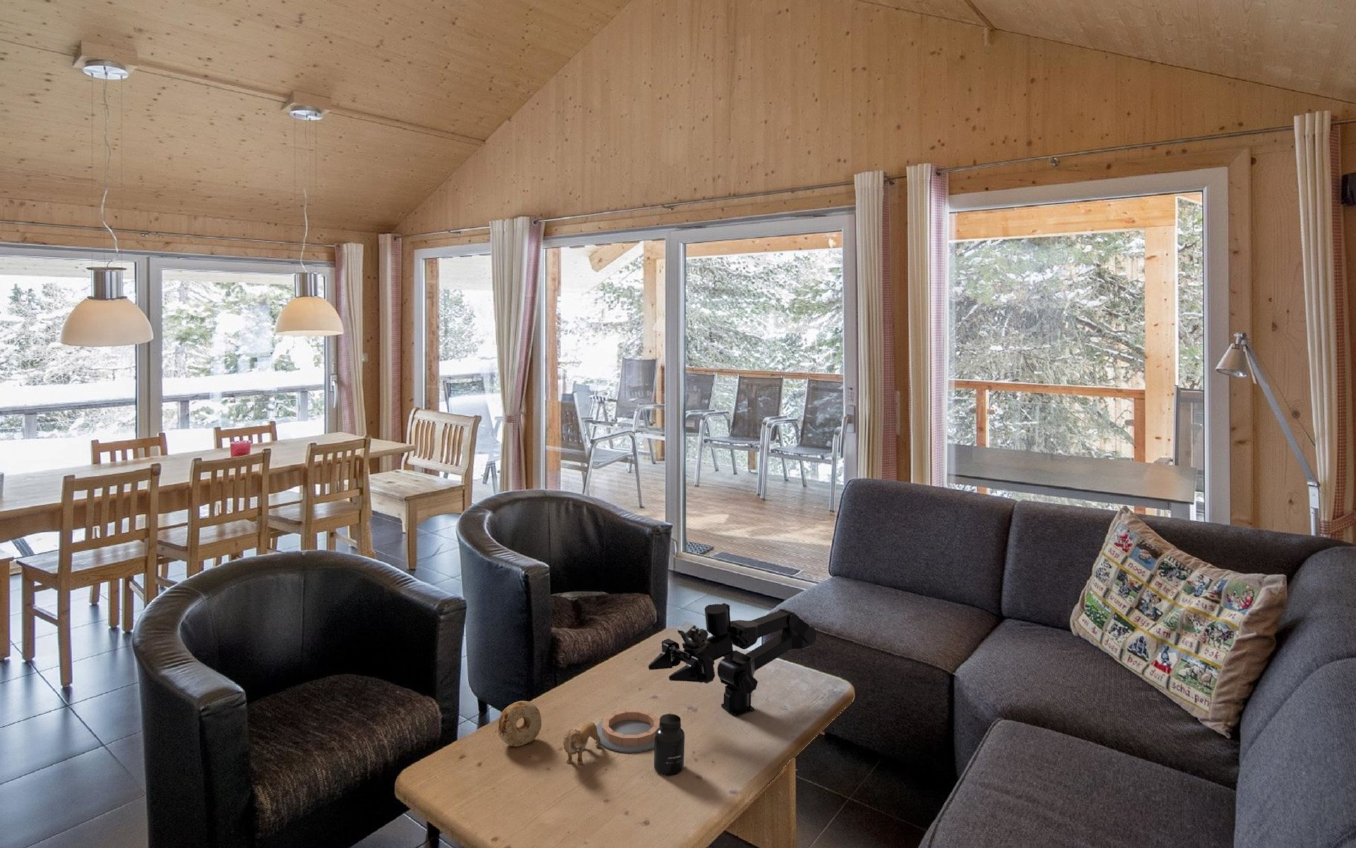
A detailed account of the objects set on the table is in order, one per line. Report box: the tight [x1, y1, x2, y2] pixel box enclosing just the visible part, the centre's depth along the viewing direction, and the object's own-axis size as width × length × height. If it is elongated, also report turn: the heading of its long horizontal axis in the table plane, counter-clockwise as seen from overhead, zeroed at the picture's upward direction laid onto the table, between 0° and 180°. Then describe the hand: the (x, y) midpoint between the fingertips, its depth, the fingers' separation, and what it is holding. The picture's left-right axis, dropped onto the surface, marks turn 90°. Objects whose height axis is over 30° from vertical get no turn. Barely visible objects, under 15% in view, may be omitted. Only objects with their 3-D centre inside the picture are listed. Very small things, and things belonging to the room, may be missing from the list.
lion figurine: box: [562, 721, 601, 766], centre depth 185 cm, size 15×5×9 cm, turn 163°
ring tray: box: [596, 708, 660, 754], centre depth 196 cm, size 18×18×3 cm
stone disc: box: [497, 700, 542, 747], centre depth 190 cm, size 10×4×10 cm, turn 123°
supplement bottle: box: [653, 713, 686, 777], centre depth 181 cm, size 7×7×12 cm
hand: (658, 673), depth 192 cm, fingers open, 9 cm apart
